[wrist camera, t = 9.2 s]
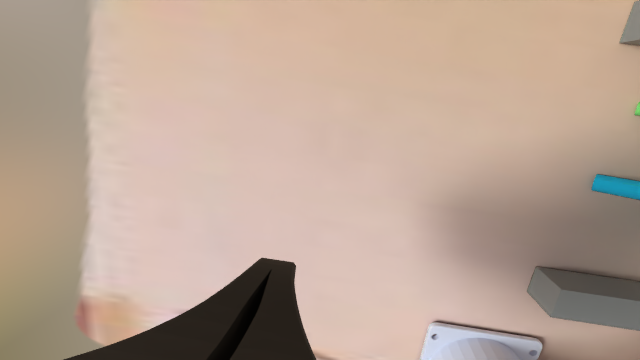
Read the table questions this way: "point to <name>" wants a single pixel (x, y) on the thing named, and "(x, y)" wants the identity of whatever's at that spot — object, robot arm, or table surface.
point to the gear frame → (585, 289)
